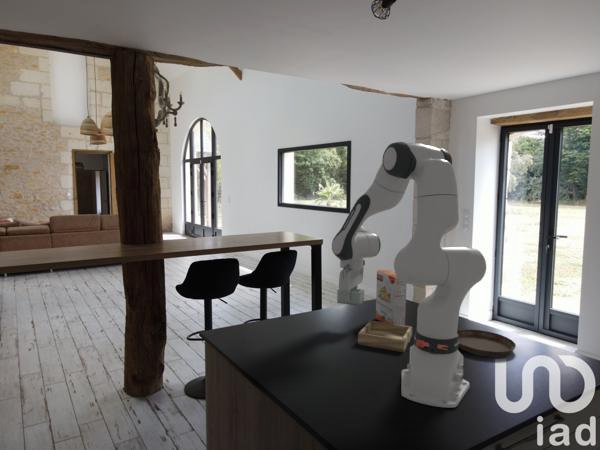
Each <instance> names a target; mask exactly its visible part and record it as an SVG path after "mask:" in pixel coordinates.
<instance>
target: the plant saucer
mask: <svg viewBox="0 0 600 450" xmlns="http://www.w3.org/2000/svg"><path fill="white" fill-rule="evenodd" d="M457 334H458V335H459V345H458V348H460V349H461V350H462V351H464V352H467V353H470V354H471V355H476V356H481V357H490V358H498V357H504V356H507V355H509V354H511V353H512V352H514V350H515V349H516V348H517V347H516V343H515V341H514V340H512V339H511V338H509V337H508V336H507V337H506V336H504V335H501V334H499V333H495V332H492V331H487V330H481V329H470V328H469V329H466V328H465V329H458V330H457Z"/></svg>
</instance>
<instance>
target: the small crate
mask: <svg viewBox="0 0 600 450" xmlns="http://www.w3.org/2000/svg"><path fill="white" fill-rule="evenodd" d="M336 292H337V293H336V294H337V296H336V298H337V299H336V300H337V301H336V303H337V304H340V305H341V304H342V305H351V306H358V307H359V306H361V305H362V304H364V302H365V289H361V288H357V289H353V288H352V289H351V290H350V296H351V300H349V301H346V300H345V294H344V291H340V290H339V289H338V290H337V291H336Z"/></svg>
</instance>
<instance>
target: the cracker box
mask: <svg viewBox="0 0 600 450" xmlns="http://www.w3.org/2000/svg"><path fill="white" fill-rule="evenodd" d="M375 296H376V297H375V298H376V299H375V319H376V320H377V321H378V322H384V323H391V324H398V325H404V326H406V314H407V313H406V312H407V311H406V306H407V283H403V282H401V281H400V280H399V278H398V277H397V275H396V273H395V271H393V270H390V269H385V270H384V269H380V270H377V271H376V293H375Z"/></svg>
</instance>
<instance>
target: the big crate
mask: <svg viewBox="0 0 600 450" xmlns="http://www.w3.org/2000/svg"><path fill="white" fill-rule="evenodd" d="M412 337H413V326H410V325H405V326H404V325H398V324H391V323H384V322H381V321H378V320H377V321H376V320H369V321H368V322H367V323H366V324H365V326H364V327H362V329H360V331H359V332H358V334H357V345H361V346H364V347H365V346H366V347H372V348H375V349H376V348H377V349H383V350H388V351H395V352H400V353H405V352H406V351H405V350H406V349H407V347H408V345H409V344H410V341H411V340H412ZM408 343H409V344H408Z"/></svg>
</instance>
